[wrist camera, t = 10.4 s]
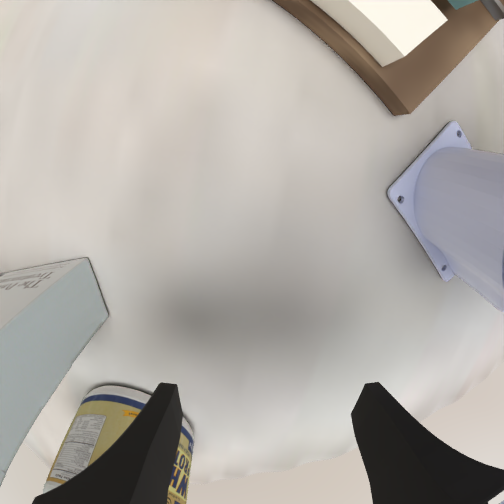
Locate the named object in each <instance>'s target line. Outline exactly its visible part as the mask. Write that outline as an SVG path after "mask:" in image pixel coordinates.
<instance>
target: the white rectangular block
mask: <svg viewBox="0 0 504 504" xmlns="http://www.w3.org/2000/svg"><path fill="white" fill-rule="evenodd" d="M310 1H312V2H313V3H314V4H316V5H317V6H318V7H319V8H321V9H322V10H323V11H324V12H326V13H327V14H328V15H329V16H330V17H332V18H333V19H334V20H335V21H336V22H337V23H338V24H340V25H341V26H342V27H343V28H344V29H345V30H346V31H347V32H348V33H349V34H351V35H352V36H353V37H354V38H355V39H356V40H357V41H358V42H359V43H360V44H361V45H362V46H363V47H364V48H365V49H366V50H367V51H368V52H369V53H370V54H371V55H372V56H373V57H374V59H375V60H376V61H377V62H378V63H379V64H380V65H381V66H382V67H384V66H386V65H388V64H390V63H392V62H394V61H396V60H398V59H401V58H403V57H405V56H406V55H407V54H408V53H409V52H411V51H412V50H413V49H414V48H415V47H416V46H418V45H419V44H420V43H421V42H422V41H423V40H425V39H426V38H427V37H428V36H429V35H430V34H432V33H433V32H434V31H435V30H436V29H438V28H439V27H440V26H441V25H442V24H444V23H445V22H446V21H447V20H448V19H447V18H446V17H445V16H444V15H443V14H442V12H441V11H440V10H439V9H438V8H437V7H436V6H435V4H434V3H433V2H432V1H431V0H310Z"/></svg>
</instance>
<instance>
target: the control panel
mask: <svg viewBox="0 0 504 504" xmlns="http://www.w3.org/2000/svg"><path fill="white" fill-rule="evenodd" d="M273 1H274V2H276V3H277V4H278V5H280V6H281V7H283V8H284V9H285V10H287V11H288V12H289V13H291V14H292V15H293V16H294V17H296V18H297V19H298V20H300V21H301V22H302V23H303V24H305V25H306V26H307V27H308V28H309V29H311V30H312V31H313V32H314V33H315V34H316V35H318V36H319V37H320V38H321V39H322V40H323V41H324V42H326V43H327V44H328V45H329V46H330V47H331V48H332V49H333V50H334V51H335V52H336V53H337V54H338V55H340V56H341V57H342V58H343V59H344V60H345V61H346V62H347V63H348V64H349V65H350V66H351V67H352V68H353V69H354V70H355V71H356V73H357V74H358V75H359V76H360V77H361V78H362V79H363V80H364V81H365V82H366V83H367V84H368V85H369V87H370V88H371V89H372V90H373V91H374V92H375V93H376V95H377V96H378V97H379V98H380V99H381V100H382V102H383V103H384V104H385V105H386V106H387V108H388V109H389V110H390V111H391V113H392V114H393V115H394V116H396V115H404V114H411V113H412V112H413V111H414V110H415V108H416V107H417V106H418V105H419V104H420V103H421V102H422V101H423V100H424V99H425V98H426V97H427V96H428V95H429V94H430V93H431V92H432V91H433V90H434V89H435V88H436V87H437V86H438V85H439V84H440V83H441V82H442V81H443V79H444V78H445V77H446V76H447V75H448V74H449V73H450V72H451V71H452V70H453V69H454V68H455V67H456V66H457V65H458V64H459V63H460V62H461V61H462V60H463V58H464V57H465V56H466V55H467V54H468V53H469V52H470V51H471V50H472V49H473V48H474V47H475V46H476V45H477V44H478V42H479V41H480V40H481V39H482V38H483V37H484V36H485V35H486V34H487V33H488V32H489V31H490V30H491V28H492V27H493V26H494V25H495V24H496V23H497V22H498V21H499V20H500V19H503V18H504V0H478V1H475V2H473V3H471V4H468V5H466V6H464V7H461V8H459V9H457V10H455V8H454V7H453V6H452V5H451V4H450V3H449V1H448V0H431V1H432V2H433V3H434V4H435V6H436V7H437V8H438V9H439V10H440V11H441V12H442V14H443V15H444V16H445V17H446V18H447V19H448V20H447V21H446V22H445V23H444V24H442V25H441V26H440V27H439V28H438V29H436V30H435V31H434V32H433V33H432V34H430V35H429V36H428V37H427V38H426V39H425V40H423V41H422V42H421V43H420V44H419V45H418V46H416V47H415V48H414V49H413V50H412V51H411V52H409V53H408V54H407V55H406V56H405V57H403V58H401V59H398V60H396V61H394V62H392V63H390V64H388V65H386V66H384V67H382V66H381V65H380V64H379V63H378V62H377V61H376V60H375V59H374V57H373V56H372V55H371V54H370V53H369V52H368V51H367V50H366V49H365V48H364V47H363V46H362V45H361V44H360V43H359V42H358V41H357V40H356V39H355V38H354V37H353V36H352V35H351V34H349V33H348V32H347V31H346V30H345V29H344V28H343V27H342V26H341V25H340V24H338V23H337V22H336V21H335V20H334V19H333V18H332V17H330V16H329V15H328V14H327V13H326V12H324V11H323V10H322V9H321V8H319V7H318V6H317V5H316V4H314V3H313V2H312V1H310V0H273Z"/></svg>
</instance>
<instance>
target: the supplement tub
mask: <svg viewBox="0 0 504 504" xmlns="http://www.w3.org/2000/svg"><path fill="white" fill-rule="evenodd" d="M150 397H151V395H148V394H146V393H143V392H141V391H138V390H134V389H131V388H126V387H121V386H102V387H98V388H96V389H94V390H92V391H91V392H89V393H88V394H87V396H86V397H85V398H84V399H83V401H82V403H81V405H80V407H79V409H78V411H77V413H76V415H75V417H74V419H73V421H72V423H71V425H70V427H69V429H68V432H67V434H66V436H65V438H64V440H63V442H62V444H61V447H60V449H59V451H58V454H57V456H56V458H55V461H54V463H53V465H52V468H51V470H50V473H49V475H48V478H47V481H46V483H45V484H44V489H43V494H44V493H46V492H48V491H50V490H52V489H54V488H56V487H58V486H60V485H61V484H63V483H65V482H66V481H68V480H69V479H71V478H72V477H74V476H76V475H77V474H79V473H80V472H81V471H83V470H84V469H85V468H87V467H88V466H89V465H90V464H92V463H93V462H94V461H95V460H96V459H98V458H99V457H100V456H101V455H102V454H103V453H104V452H105V451H106V450H107V449H108V448H110V447H111V445H112V444H113V443H114V442H115V441H116V440H117V439H118V438H119V437H120V436H121V435H122V433H123V432H124V431H125V430H126V429H127V428H128V427H129V425H130V424H131V423H132V422H133V420H134V419H135V418H136V416H137V415H138V414H139V413H140V411H141V410H142V409H143V407H144V406H145V404H146V403H147V402H148V400H149V399H150ZM193 446H194V436H193V432H192V429H191V427H190V426H189V424H188V422H187V421H186V420H185V418H184V417H183V419H182V428H181V436H180V441H179V445H178V450H177V454H176V458H175V462H174V466H173V470H172V475H171V479H170V483H169V489H168V497H167V504H186V500H187V492H188V484H189V476H190V468H191V461H192V453H193Z"/></svg>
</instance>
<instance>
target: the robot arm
mask: <svg viewBox="0 0 504 504" xmlns="http://www.w3.org/2000/svg"><path fill="white" fill-rule="evenodd" d="M457 132H458V136H457ZM399 196H401V201H400V202H398V201H397V200H398V197H399ZM388 197H389V199H390V200H391V201H392V203H393V204H394V205H395V207H396V208H397V210H398V211H399V212H400V214H401V215H402V217H403V218H404V219H405V221H406V222H407V224H408V225H409V227H410V228H411V230H412V231H413V233H414V234H415V236H416V237H417V239H418V240H419V242H420V243H421V245H422V246H423V248H424V250H425V251H426V253H427V254H428V256H429V258H430V259H431V261H432V262H433V264H434V266H435V267H436V269H437V271H438V273H439V274H440V276H441V278H442V279H443V280H444V281H446V282H447V281H449V280H450V279H451V278H452V277H453V276H454V275H457V276H458V277H459V278H460V279H462V280H463V281H464V282H465V283H467V284H468V285H469V286H470V287H472V288H473V289H474V290H475V291H477V292H478V293H479V294H480V295H481V296H483V297H484V298H485V299H486V300H487V301H488V302H490V303H491V304H492V305H493V306H494V307H495V308H497V309H498V310H500V311H502V312H504V154H500V153H494V152H488V151H482V150H475V149H472V147H471V145H470V143H469V142H468V140H467V138H466V136H465V134H464V133H463V131H462V129H461V127H460V126H459V124H458V123H457V122H456V121H450V122H449V123H448V124H447V125H446V126H445V128H444V129H443V130H442V131H441V132H440V133H439V134H438V136H437V137H436V138H435V139H434V140H433V141H432V142H431V143H430V145H429V146H428V147H427V148H426V149H425V150H424V151H423V152H422V153H421V154H420V156H419V157H418V158H417V159H416V160H415V161H414V162H413V163H412V164H411V165H410V166H409V167H408V168H407V170H406V171H405V172H404V173H403V174H402V175H401V176H400V177H399V178H398V179H397V180H396V181H395V182H394V183H393V184H392V185H391V186H390V188H389V189H388ZM443 266H444V267H443ZM442 267H443V268H442ZM351 417H352V423H353V428H354V434H355V437H356V441H357V444H358V447H359V450H360V453H361V456H362V459H363V462H364V465H365V468H366V471H367V475H368V478H369V482H370V487H371V493H372V499H373V504H488V501H489V500H491V499H492V498H494V497H495V496H496V495H498V494H499V493H500V492H502V491H503V490H504V470H502V469H499V468H496V467H492V466H489V465H486V464H483V463H481V462H478V461H476V460H474V459H472V458H469V457H467V456H465V455H464V454H461V453H460V452H458V451H456V450H455V449H453V448H451V447H450V446H448V445H447V444H445V443H444V442H443V441H441V440H440V439H438V438H437V437H435V436H434V435H433V434H432V433H431V432H429V431H428V430H427V429H426V428H425V427H423V426H422V425H421V424H420V423H419V422H418V421H417V420H416V419H415V418H414V417H413V416H411V415H410V414H409V413H408V412H407V411H406V410H405V409H404V408H403V407H402V406H401V405H400V404H399V403H398V401H397V400H396V399H395V398H394V397H393V396H392V395H391V394H390V393H389V392H388V391H387V390H386V389H385V388H384V387H383V386H382V385H381V384H380V383H379V382H375V383H367V384H365V385H364V388H363V390H362V392H361V394H360V396H359V399H358V401H357V403H356V405H355V407H354V409H353V411H352V413H351ZM182 419H183V413H182V408H181V403H180V398H179V393H178V387H177V384H169V383H160V384H159V385H158V386H157V388H156V390H155V391H154V393H153V394H152V396H151V397H150V399H149V400H148V402H147V403H146V404H145V406H144V407H143V409H142V410H141V411H140V413H139V414H138V415H137V416H136V418H135V419H134V420H133V422H132V423H131V424H130V425H129V427H128V428H127V429H126V430H125V431H124V432H123V433H122V435H121V436H120V437H119V438H118V439H117V440H116V441H115V442H114V443H113V444H112V445H111V447H110V448H108V449H107V450H106V451H105V452H104V453H103V454H102V455H101V456H100V457H99V458H98V459H96V460H95V461H94V462H93V463H92V464H90V465H89V466H88V467H87V468H85V469H84V470H83V471H81V472H80V473H79V474H77V475H76V476H74V477H72V478H71V479H69V480H68V481H66V482H65V483H63V484H61V485H60V486H58V487H56V488H54V489H52V490H50V491H48V492H46V493H44V494H41V495H39V496H37V497H35V499H34V501H33V503H32V504H167V497H168V489H169V483H170V479H171V475H172V470H173V466H174V462H175V458H176V454H177V450H178V445H179V441H180V436H181V428H182ZM499 504H504V501H502V502H501V503H499Z"/></svg>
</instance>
